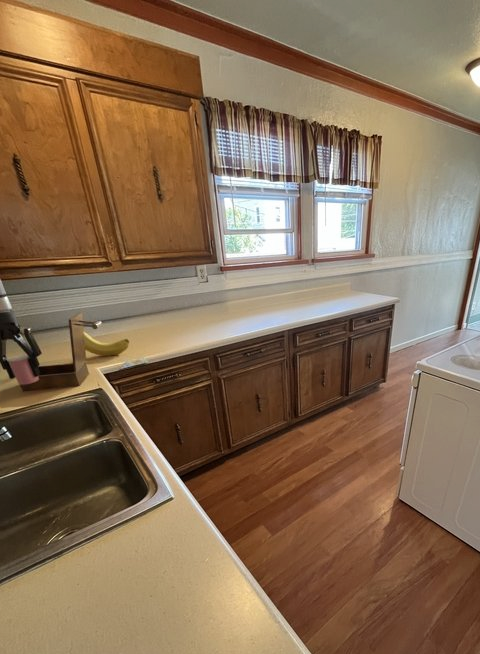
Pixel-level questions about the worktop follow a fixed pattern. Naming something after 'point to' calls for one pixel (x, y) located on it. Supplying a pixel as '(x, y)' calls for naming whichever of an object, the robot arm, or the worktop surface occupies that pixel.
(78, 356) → the lid
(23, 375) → the liner stack
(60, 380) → the brown wooden box
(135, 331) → the worktop surface
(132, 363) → the baking ingredient package
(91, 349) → the banana
